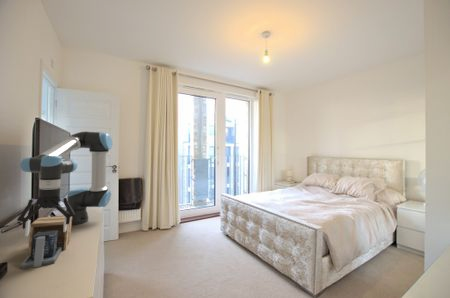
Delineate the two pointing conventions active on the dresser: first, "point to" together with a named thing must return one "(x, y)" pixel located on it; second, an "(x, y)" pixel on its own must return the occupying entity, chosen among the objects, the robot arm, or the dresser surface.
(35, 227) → the cubby
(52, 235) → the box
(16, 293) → the dresser surface
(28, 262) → the tray
